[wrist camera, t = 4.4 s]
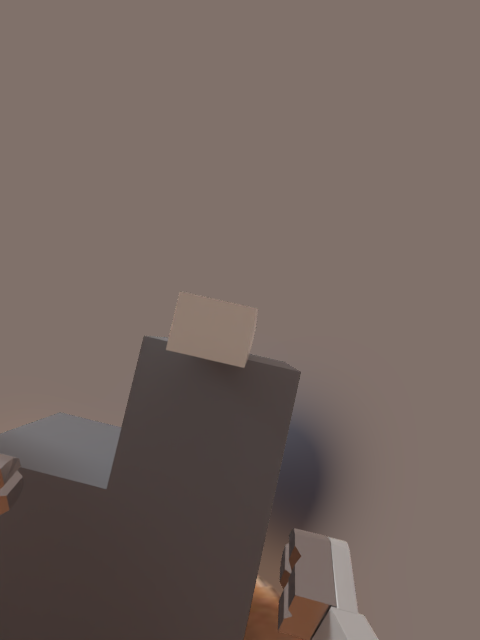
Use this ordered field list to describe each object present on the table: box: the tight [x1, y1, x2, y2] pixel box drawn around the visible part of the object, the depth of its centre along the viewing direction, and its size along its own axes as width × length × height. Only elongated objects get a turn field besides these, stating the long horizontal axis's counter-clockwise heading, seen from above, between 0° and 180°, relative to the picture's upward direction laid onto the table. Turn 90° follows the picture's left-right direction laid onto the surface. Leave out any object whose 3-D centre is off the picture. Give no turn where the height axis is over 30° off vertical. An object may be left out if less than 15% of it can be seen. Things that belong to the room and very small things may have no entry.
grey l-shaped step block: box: [0, 336, 301, 640], centre depth 32 cm, size 24×14×26 cm, turn 87°
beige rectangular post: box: [166, 291, 258, 368], centre depth 27 cm, size 4×21×3 cm, turn 177°
